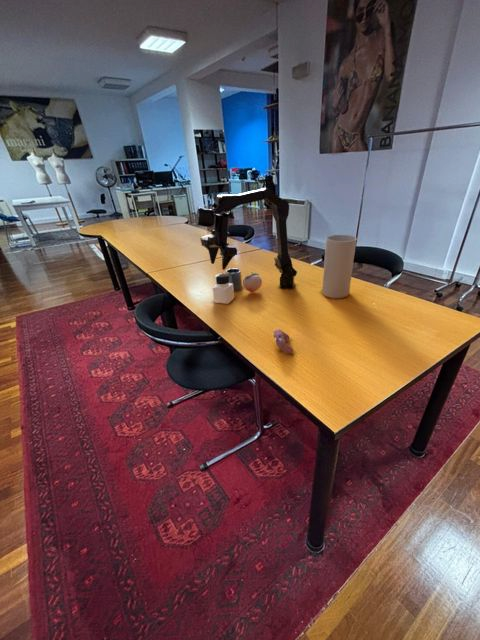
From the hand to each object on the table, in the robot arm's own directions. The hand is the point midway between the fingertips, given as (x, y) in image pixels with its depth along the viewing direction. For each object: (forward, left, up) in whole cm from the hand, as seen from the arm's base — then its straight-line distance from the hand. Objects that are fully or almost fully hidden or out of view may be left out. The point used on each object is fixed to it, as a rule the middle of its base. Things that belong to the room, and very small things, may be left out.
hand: (217, 266), depth 129 cm
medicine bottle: (-2, +1, -15) cm, 15 cm away
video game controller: (-38, +33, -15) cm, 53 cm away
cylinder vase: (-50, -19, -15) cm, 56 cm away
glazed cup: (-1, -14, -15) cm, 20 cm away
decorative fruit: (-12, -11, -15) cm, 22 cm away
